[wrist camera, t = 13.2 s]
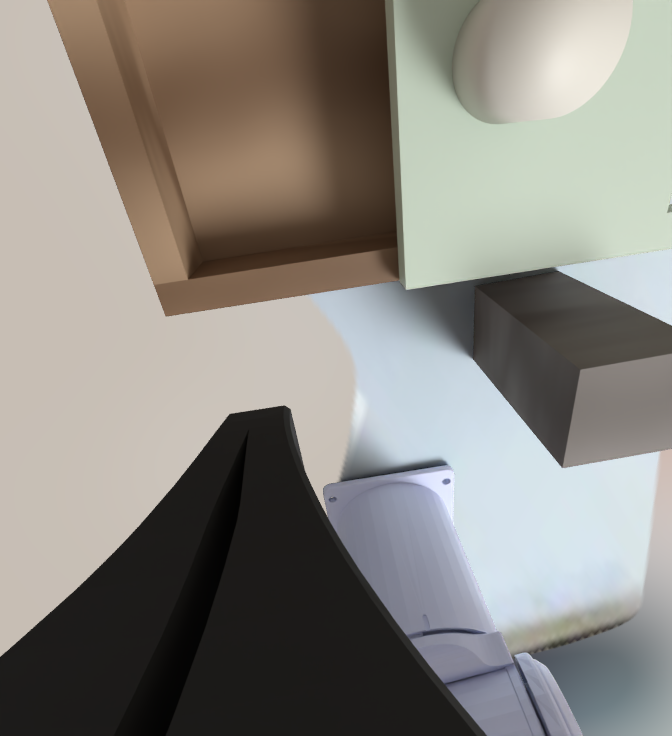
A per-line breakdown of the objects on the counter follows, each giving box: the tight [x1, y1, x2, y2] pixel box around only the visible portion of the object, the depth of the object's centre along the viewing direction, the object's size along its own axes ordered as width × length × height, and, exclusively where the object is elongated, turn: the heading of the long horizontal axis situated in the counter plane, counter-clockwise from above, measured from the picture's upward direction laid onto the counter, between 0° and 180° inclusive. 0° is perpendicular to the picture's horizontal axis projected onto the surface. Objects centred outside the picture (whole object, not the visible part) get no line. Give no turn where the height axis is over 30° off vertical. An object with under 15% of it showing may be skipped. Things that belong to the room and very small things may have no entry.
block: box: [473, 271, 672, 468], centre depth 16 cm, size 4×4×8 cm
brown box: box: [47, 0, 399, 316], centre depth 13 cm, size 12×16×4 cm
